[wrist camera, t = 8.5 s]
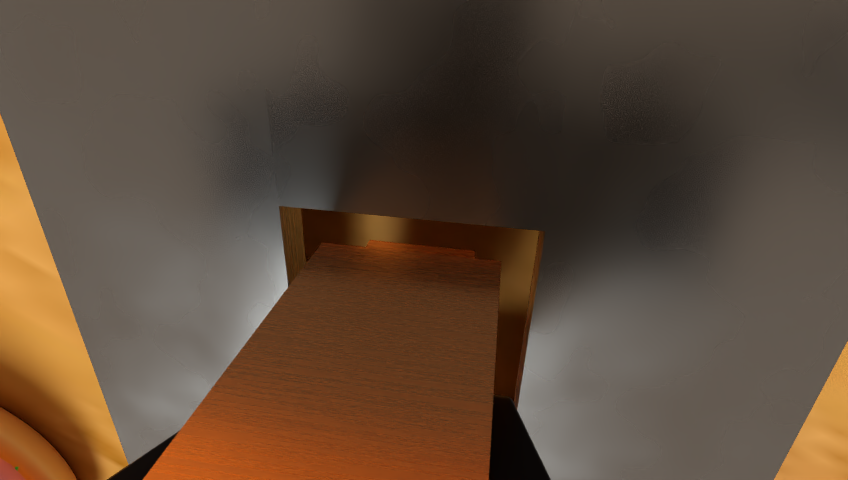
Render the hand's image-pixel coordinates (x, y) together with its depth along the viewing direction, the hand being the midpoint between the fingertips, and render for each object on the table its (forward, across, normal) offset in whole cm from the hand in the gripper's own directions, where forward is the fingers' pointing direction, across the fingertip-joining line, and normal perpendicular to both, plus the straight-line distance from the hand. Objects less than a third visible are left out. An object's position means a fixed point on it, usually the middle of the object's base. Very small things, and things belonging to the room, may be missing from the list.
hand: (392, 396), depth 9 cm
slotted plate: (+4, 0, 0) cm, 4 cm away
